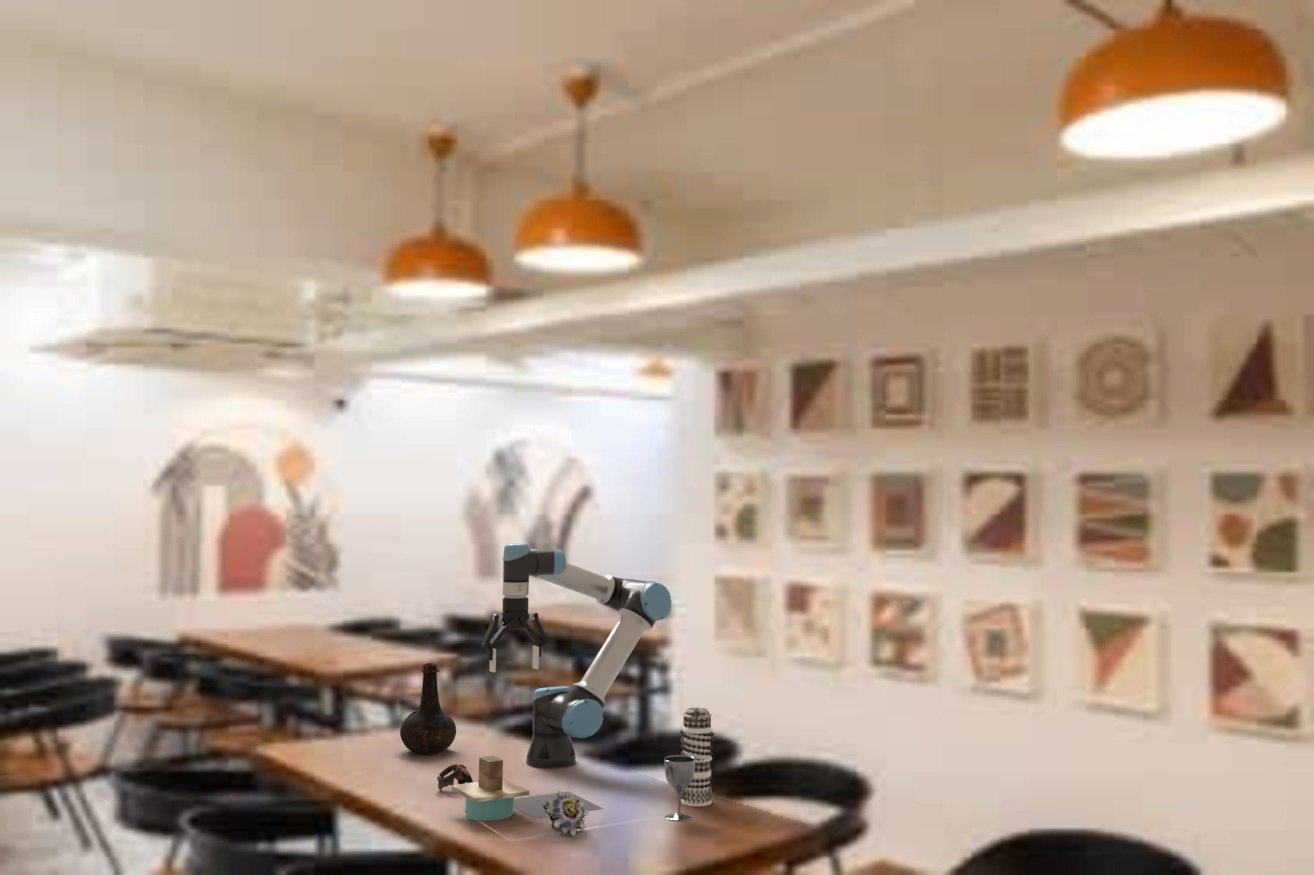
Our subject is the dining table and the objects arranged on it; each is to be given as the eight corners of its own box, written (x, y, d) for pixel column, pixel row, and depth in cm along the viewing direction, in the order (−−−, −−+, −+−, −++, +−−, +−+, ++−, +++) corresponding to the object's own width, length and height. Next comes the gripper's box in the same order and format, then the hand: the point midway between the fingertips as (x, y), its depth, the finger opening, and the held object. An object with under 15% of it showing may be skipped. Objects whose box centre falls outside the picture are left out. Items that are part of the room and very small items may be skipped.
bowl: (501, 807, 305) (502, 784, 305) (520, 818, 295) (521, 794, 295) (459, 813, 298) (459, 789, 299) (477, 824, 288) (477, 800, 289)
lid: (504, 782, 307) (505, 750, 308) (529, 795, 294) (530, 761, 295) (451, 789, 299) (452, 756, 300) (474, 802, 286) (475, 768, 287)
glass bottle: (429, 743, 381) (431, 658, 382) (467, 750, 370) (469, 663, 372) (387, 752, 366) (389, 664, 368) (426, 760, 356) (428, 669, 357)
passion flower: (571, 858, 280) (558, 825, 274) (540, 841, 287) (526, 808, 281) (601, 825, 286) (588, 792, 280) (570, 808, 293) (557, 776, 287)
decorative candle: (689, 808, 306) (690, 713, 307) (673, 800, 314) (674, 707, 315) (719, 804, 310) (720, 711, 311) (702, 796, 318) (703, 705, 320)
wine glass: (698, 815, 300) (698, 756, 300) (689, 823, 292) (689, 763, 293) (669, 811, 302) (670, 754, 303) (659, 819, 295) (660, 760, 296)
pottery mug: (474, 797, 317) (459, 772, 315) (444, 810, 318) (429, 786, 316) (481, 775, 328) (467, 751, 327) (452, 788, 329) (438, 765, 328)
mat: (568, 793, 320) (568, 791, 320) (603, 810, 303) (603, 808, 303) (502, 802, 309) (502, 800, 309) (534, 821, 292) (534, 819, 292)
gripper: (480, 599, 325) (479, 675, 324) (559, 596, 338) (558, 669, 337) (470, 597, 332) (469, 671, 331) (548, 594, 345) (547, 665, 344)
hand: (514, 670), depth 334 cm, fingers open, 13 cm apart
